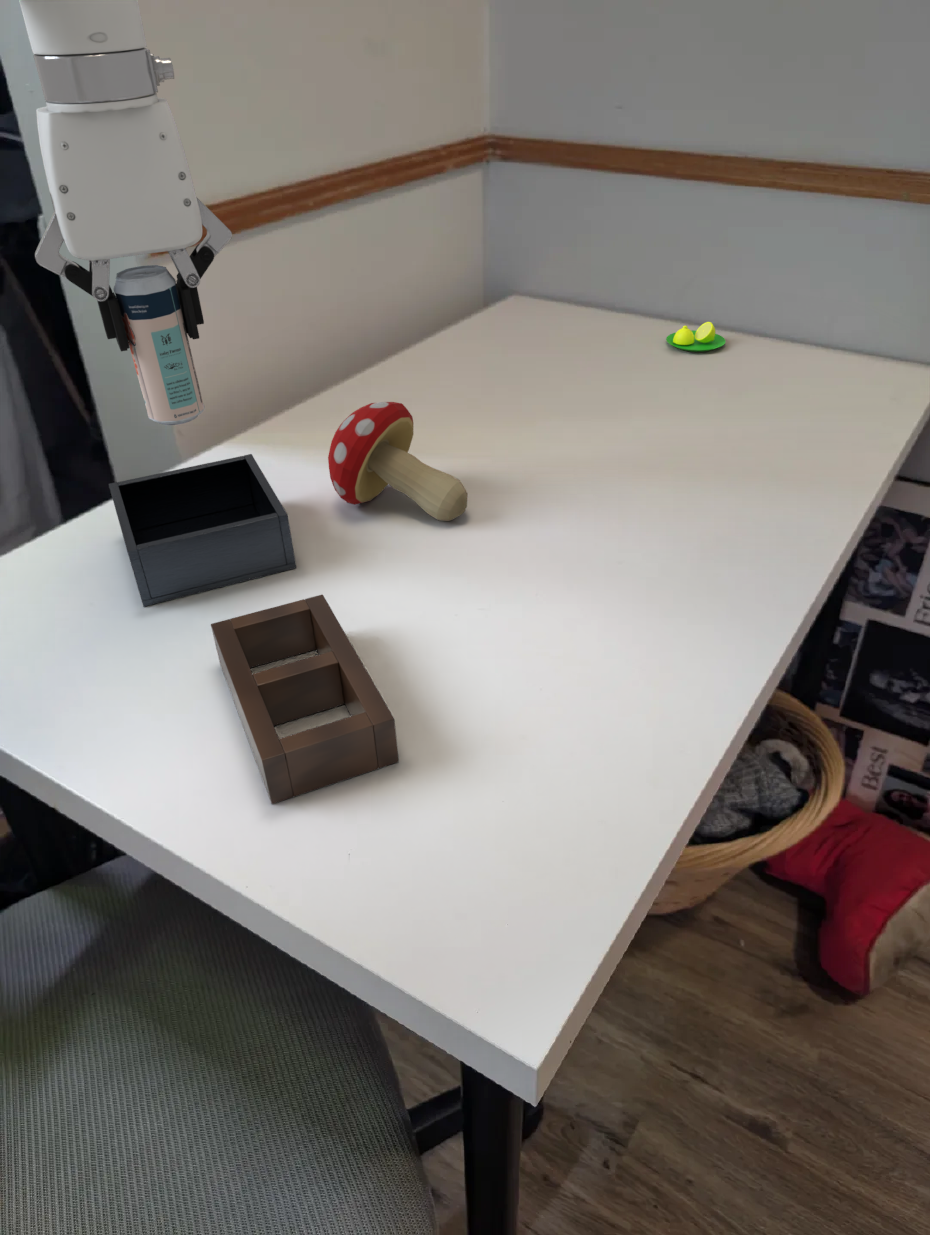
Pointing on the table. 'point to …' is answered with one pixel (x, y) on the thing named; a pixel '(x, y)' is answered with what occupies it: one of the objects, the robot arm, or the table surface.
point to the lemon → (696, 338)
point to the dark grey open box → (202, 528)
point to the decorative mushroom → (389, 462)
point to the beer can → (159, 344)
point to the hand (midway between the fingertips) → (157, 337)
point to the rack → (303, 697)
